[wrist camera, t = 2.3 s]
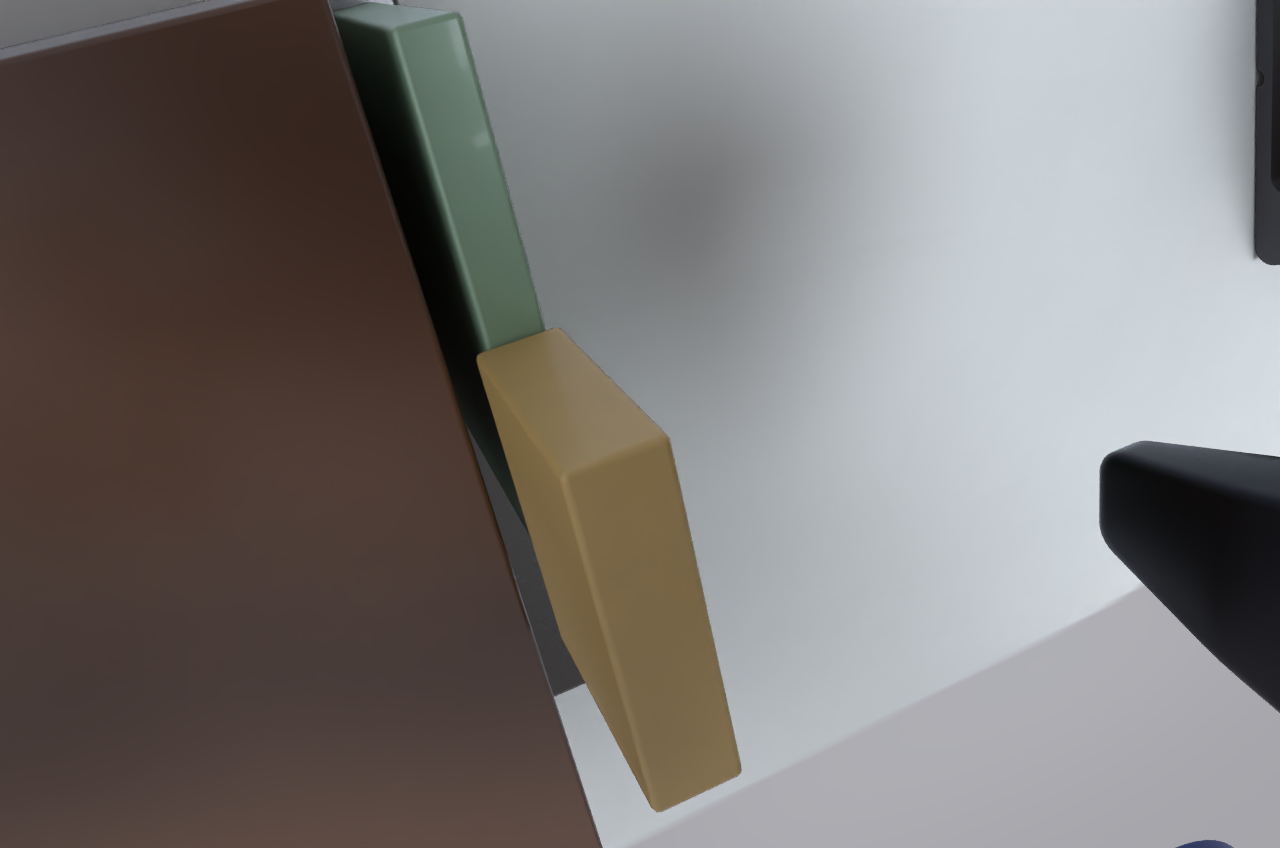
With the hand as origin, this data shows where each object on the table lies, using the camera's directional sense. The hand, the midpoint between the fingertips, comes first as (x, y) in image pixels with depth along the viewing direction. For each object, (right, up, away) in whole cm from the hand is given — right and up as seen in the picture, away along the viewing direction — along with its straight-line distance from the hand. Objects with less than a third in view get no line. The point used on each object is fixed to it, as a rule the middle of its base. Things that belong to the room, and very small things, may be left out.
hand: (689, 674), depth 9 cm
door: (-4, +5, +8) cm, 10 cm away
